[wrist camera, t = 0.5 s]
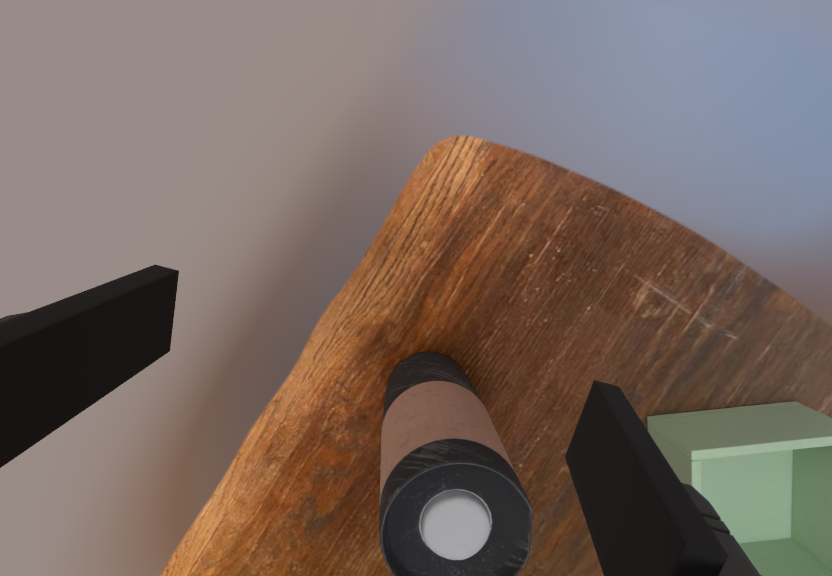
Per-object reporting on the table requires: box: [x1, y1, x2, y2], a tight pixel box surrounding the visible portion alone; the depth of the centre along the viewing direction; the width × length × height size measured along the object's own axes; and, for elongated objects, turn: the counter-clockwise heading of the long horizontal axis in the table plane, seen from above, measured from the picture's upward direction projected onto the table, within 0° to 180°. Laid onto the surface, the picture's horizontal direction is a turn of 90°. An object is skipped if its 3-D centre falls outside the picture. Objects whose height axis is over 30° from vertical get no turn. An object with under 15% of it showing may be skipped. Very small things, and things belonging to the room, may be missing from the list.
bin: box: [647, 401, 832, 576], centre depth 43 cm, size 14×14×7 cm
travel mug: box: [379, 352, 533, 576], centre depth 34 cm, size 8×8×20 cm
